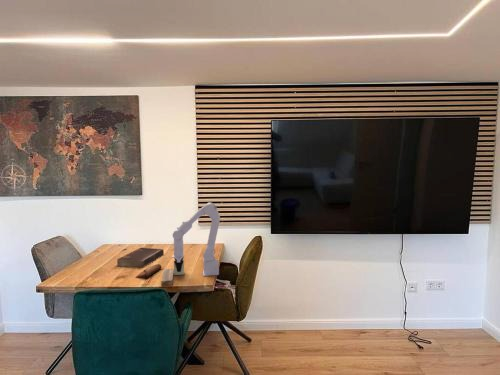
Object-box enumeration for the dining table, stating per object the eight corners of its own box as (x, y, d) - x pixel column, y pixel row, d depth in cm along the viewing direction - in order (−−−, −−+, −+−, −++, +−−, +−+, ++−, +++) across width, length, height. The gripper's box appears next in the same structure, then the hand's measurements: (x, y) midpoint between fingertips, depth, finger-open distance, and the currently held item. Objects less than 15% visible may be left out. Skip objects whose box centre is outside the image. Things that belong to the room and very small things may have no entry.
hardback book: (142, 268, 201) (142, 260, 201) (117, 266, 205) (117, 259, 204) (163, 255, 229) (163, 248, 229) (141, 253, 233) (140, 247, 233)
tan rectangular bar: (173, 272, 192) (173, 268, 192) (172, 284, 172) (172, 280, 172) (163, 273, 190) (163, 269, 190) (161, 285, 171) (161, 281, 171)
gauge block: (184, 271, 192) (183, 260, 192) (184, 274, 188) (183, 262, 187) (173, 272, 191) (173, 260, 191) (173, 275, 186) (173, 263, 186)
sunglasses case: (149, 268, 200) (154, 259, 199) (158, 273, 199) (163, 265, 198) (134, 278, 182) (139, 269, 181) (143, 284, 181) (148, 275, 180)
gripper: (172, 246, 194) (172, 266, 195) (171, 252, 180) (172, 274, 181) (183, 245, 196) (184, 265, 197) (183, 251, 182) (184, 273, 183)
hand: (179, 270), depth 189 cm, fingers closed on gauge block, 5 cm apart
